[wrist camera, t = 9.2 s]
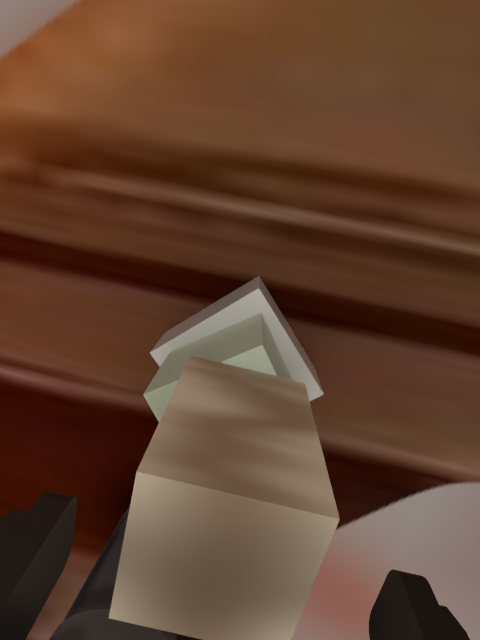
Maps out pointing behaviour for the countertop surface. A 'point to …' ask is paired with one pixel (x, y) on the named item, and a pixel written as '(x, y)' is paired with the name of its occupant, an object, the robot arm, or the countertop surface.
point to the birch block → (227, 510)
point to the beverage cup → (104, 602)
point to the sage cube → (220, 357)
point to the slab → (237, 309)
